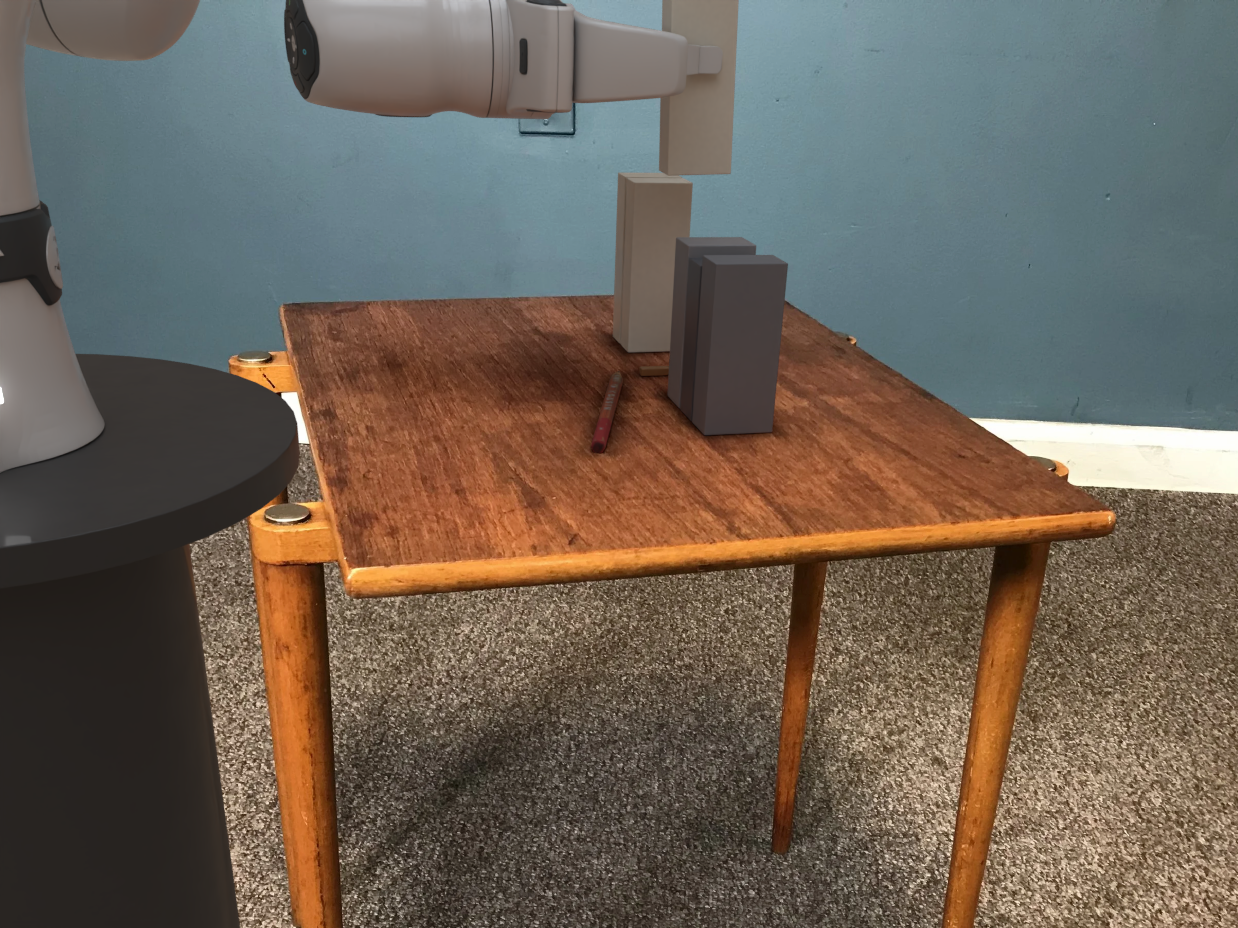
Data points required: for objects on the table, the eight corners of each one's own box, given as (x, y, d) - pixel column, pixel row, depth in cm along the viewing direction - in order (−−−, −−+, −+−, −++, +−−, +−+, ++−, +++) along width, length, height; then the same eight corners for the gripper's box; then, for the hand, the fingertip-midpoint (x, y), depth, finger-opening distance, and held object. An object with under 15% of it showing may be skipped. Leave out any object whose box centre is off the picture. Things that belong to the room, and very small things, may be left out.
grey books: (704, 435, 91) (715, 264, 85) (667, 396, 99) (675, 237, 93) (772, 432, 92) (788, 263, 87) (730, 393, 100) (742, 236, 95)
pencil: (605, 455, 87) (605, 441, 86) (589, 453, 87) (590, 440, 86) (625, 377, 103) (625, 365, 103) (612, 376, 104) (612, 365, 103)
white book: (667, 175, 95) (672, -37, 88) (658, 170, 97) (662, -37, 91) (731, 174, 96) (740, -36, 90) (720, 169, 98) (729, -36, 92)
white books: (641, 376, 104) (649, 196, 97) (604, 336, 114) (609, 172, 108) (715, 373, 105) (728, 196, 99) (673, 335, 116) (682, 172, 109)
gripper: (500, 86, 100) (669, 91, 103) (552, 115, 83) (753, 119, 86) (500, -4, 97) (673, 4, 100) (553, 6, 80) (761, 16, 83)
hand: (711, 58), depth 93 cm, fingers closed on white book, 2 cm apart
